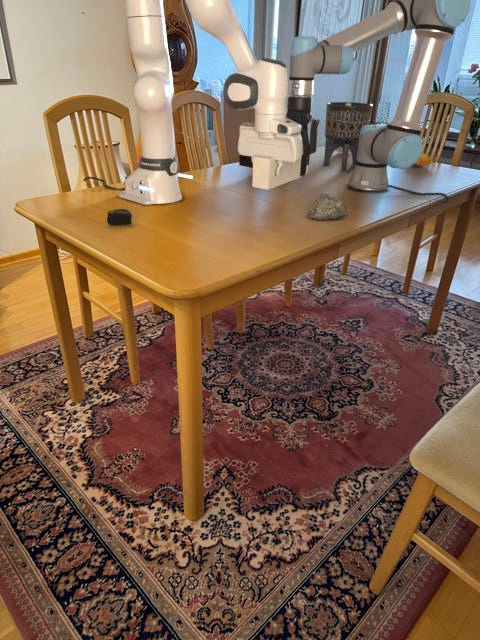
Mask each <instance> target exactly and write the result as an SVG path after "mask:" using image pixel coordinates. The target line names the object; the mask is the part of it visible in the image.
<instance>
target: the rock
mask: <svg viewBox="0 0 480 640" xmlns="http://www.w3.org/2000/svg"><path fill="white" fill-rule="evenodd" d="M347 213H348V207H347V205H346V204H345V202H344V201H343V200H342V199H339V198H338V197H335V196H333V195H330V194H327V193H324V192H321V194H320V195H319V197H318V198H316V199H315V200H314V201H313V202H312V203H311V204H310V207H309V209H308V211H307V216H308V217H309V218H310V219H316V220H318V221H327V220H335V219H339V218H340V217H343V216H345V215H346V214H347Z"/></svg>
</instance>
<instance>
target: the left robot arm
mask: <svg viewBox="0 0 480 640" xmlns="http://www.w3.org/2000/svg"><path fill="white" fill-rule="evenodd" d="M184 1H185V4H186V6H187V9H188V11H189V13H190V15H191V17H192V19H193V20H194V22H195V23H196V25H197V26H198V28H200V29H201V30H202V31H204V32H205V33H208V34H209V35H211V36H212V37H214V38H215V39H216V40H218V41H219V42H221V44H222V45H223V46H224V47H225V48H226V50H227V52H228V54H229V56H230V58H231V60H232V63H233V64H234V68H235V69H236V71H237V72H233V73H231V74H230V75H228V77H227V78H226V79H225V81H224V83H223V87H222V96H223V99H224V101H225V103H226V104H227V106H229V108H231V109H233V110H236V111H244V110H245V111H247V110H254V122H248V121H244V122H242V124H241V125H240V126H239V136H238V142H237V143H238V144H237V152H238V154H240V155H244V156H251V157H252V163H253V157H254V156H264V157H271V158H274V160H278V164H280V165H279V167H278V169H276V170H274V175H275V176H281V171H282V169H283V167H284V165H285V164H286V162H292V163H295V162H298V161H299V160H300V159H301V158H302V146H303V144H302V138H301V133H300V132H301V129H302V127H301V125H300V124H298V123H296V122H294V121H292V120H290V119H288V118H286V114H287V101H288V97H289V96H288V95H289V94H288V89H289V74H288V73H289V72H288V71H289V70H288V67H287V65H286V64H285V63H284V62H283V61H281V60H278V59H274V58H270V57H269V58H268V57H263V58H260V59H259V60H257V56H255V53H254V51H253V48H252V47H251V44H250V41H249V39H248V38H247V35H246V33H245V30H244V29H243V27H242V25H241V23H240V21H239V18H238V16H237V14H236V12H235V9H234V7H233V4H232V1H231V0H184ZM164 10H165V9H164V0H124V11H125V18H126V26H127V34H128V41H129V47H130V52H131V55H132V59H133V63H134V68H135V72H136V81H135V82H134V86H133V98H134V106H135V111H136V112H135V113H136V117H137V122H138V127H139V135H140V147H141V156H140V157H136V161H135V162H136V163H138V168H136V169H135V170H134V171H133V172H131V174H129V175H128V176H124V187H122V188H116V187H113V186H110V185H107V184H106V180H104V179H101V178H98V177H95V176H87V177H84V179H83V180H82V181H83V182H86V181H87V180H96V181H99V182H102V186H103V187H105V188H106V189H109V190H115V191H116V190H117V191H121V192H119V194H118V197H119V198H121V199H124V200H128V201H131V202H133V203H134V202H135V203H138V204H141V205H144V206H146V205H148V206H149V205H161V204H164V205H165V204H171V203H172V204H173V203H177V202H179V201H181V200H183V195H182V192H181V188H180V183H179V179H178V177H181V178H186V179H193V178H194V177H193V176H194V175H190V174H184V173H178V156H177V155H176V139H175V138H176V137H175V127H174V119H173V117H174V116H173V108H172V101H173V99H174V95H175V89H174V81H173V74H172V68H171V67H172V66H171V60H170V53H169V47H168V37H167V29H166V19H165V11H164Z"/></svg>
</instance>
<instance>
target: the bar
mask: <svg viewBox="0 0 480 640" xmlns="http://www.w3.org/2000/svg"><path fill="white" fill-rule="evenodd" d="M303 154H304V151H303V145H302V155H303ZM279 165H280V164H278V160H274V158H271V157H264V156H254V157H253V168H252V185H251V186H252V188H256V189H262V190H265V191H269V190H272V189H274V188H277V187H279V186H281V185H284V184H287V183H290V182H292V181H295V180H297V179H300V178H302V177H305V176H307V175H308V173H309V165H307V166H306V175H304V176H300V169H301V159H300V160H299V161H298V162H295V163H292V162H286V164H285V165H284V167H283V169H282V171H281V176H275V175H274V170H276V169H278V167H279Z"/></svg>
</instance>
